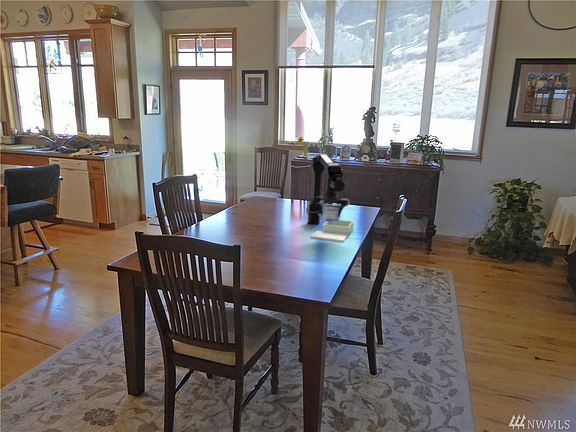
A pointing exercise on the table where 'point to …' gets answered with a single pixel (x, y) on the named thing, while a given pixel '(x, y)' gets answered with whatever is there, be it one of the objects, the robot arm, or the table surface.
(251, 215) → the table surface
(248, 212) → the table surface
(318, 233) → the tray
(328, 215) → the medicine box
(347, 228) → the sage bin
